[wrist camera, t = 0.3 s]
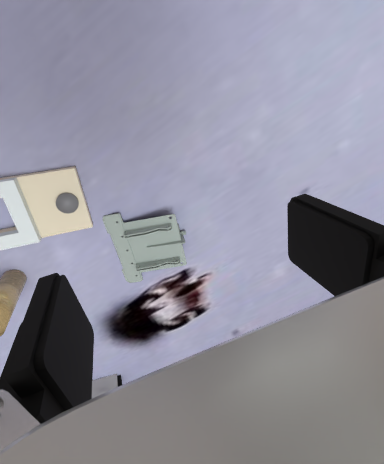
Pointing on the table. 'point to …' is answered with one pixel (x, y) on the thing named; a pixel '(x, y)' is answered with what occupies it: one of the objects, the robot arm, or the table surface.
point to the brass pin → (9, 295)
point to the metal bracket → (146, 244)
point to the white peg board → (43, 206)
